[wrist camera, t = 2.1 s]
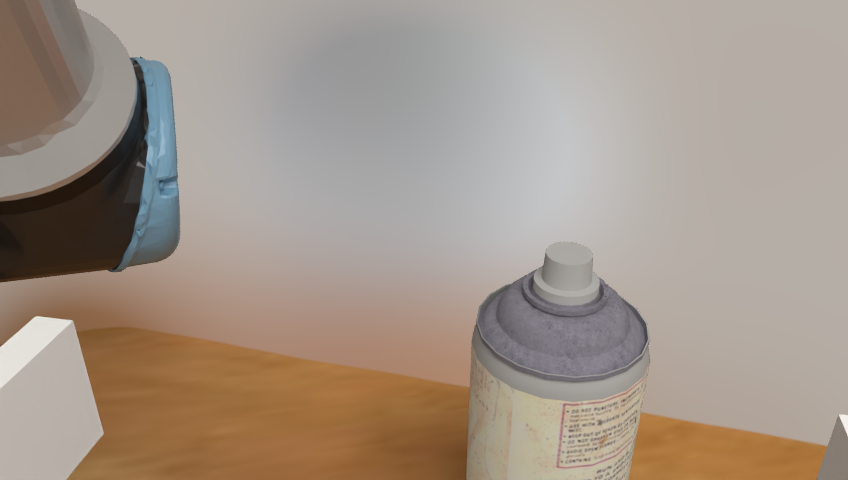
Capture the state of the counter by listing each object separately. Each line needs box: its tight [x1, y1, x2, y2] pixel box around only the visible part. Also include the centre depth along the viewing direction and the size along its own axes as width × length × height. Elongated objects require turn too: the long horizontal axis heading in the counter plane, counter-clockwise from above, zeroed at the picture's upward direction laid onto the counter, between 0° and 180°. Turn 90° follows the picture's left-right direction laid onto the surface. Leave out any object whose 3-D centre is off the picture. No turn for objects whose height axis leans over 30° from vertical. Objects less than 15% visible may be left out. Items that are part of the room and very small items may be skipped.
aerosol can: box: [466, 242, 650, 480], centre depth 32 cm, size 7×7×20 cm
